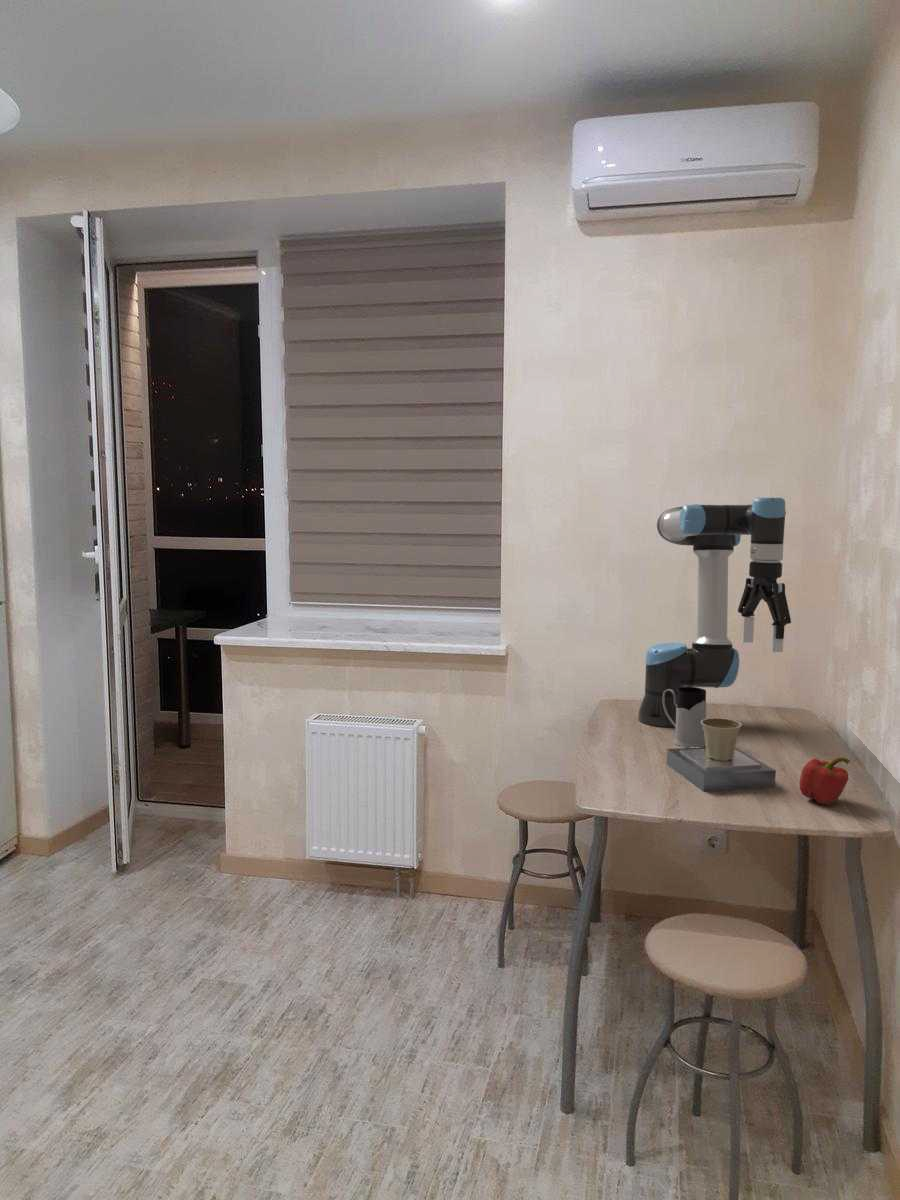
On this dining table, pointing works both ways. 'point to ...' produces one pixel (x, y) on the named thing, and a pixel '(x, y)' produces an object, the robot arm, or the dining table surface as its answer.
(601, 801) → the dining table surface
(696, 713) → the grey pitcher
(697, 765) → the gray square platform
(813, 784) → the vegetable
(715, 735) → the flower pot
